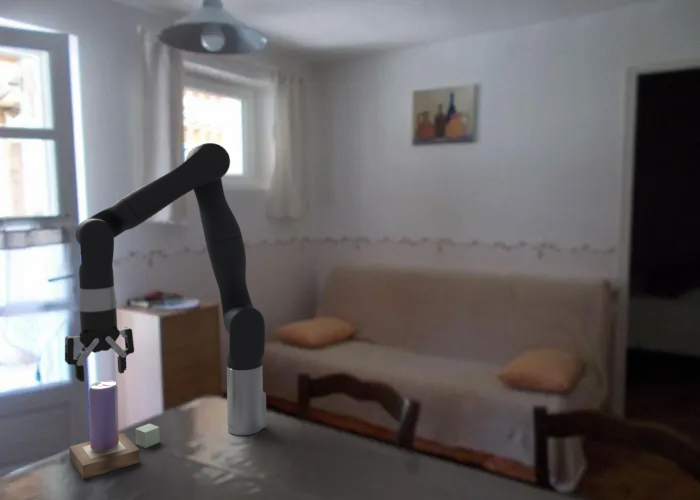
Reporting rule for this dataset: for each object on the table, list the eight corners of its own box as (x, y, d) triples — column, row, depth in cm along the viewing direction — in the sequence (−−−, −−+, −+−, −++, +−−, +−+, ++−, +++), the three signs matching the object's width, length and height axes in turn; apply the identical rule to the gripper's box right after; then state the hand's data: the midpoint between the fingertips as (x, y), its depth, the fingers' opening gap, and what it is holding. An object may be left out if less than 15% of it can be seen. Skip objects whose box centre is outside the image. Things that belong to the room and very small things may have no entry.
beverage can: (107, 454, 120) (105, 389, 118) (84, 451, 121) (82, 387, 120) (124, 443, 125) (122, 381, 124) (102, 440, 127) (100, 379, 125)
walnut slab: (123, 444, 132) (122, 432, 131) (139, 462, 123) (139, 449, 122) (69, 459, 124) (69, 446, 124) (83, 479, 115) (82, 465, 115)
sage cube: (149, 438, 135) (149, 423, 135) (159, 442, 133) (159, 427, 133) (135, 444, 132) (135, 428, 132) (145, 448, 130) (145, 432, 130)
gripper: (125, 300, 128) (128, 366, 129) (59, 308, 118) (63, 379, 120) (135, 305, 122) (139, 374, 123) (67, 313, 113) (71, 388, 114)
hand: (101, 376), depth 122 cm, fingers open, 8 cm apart
